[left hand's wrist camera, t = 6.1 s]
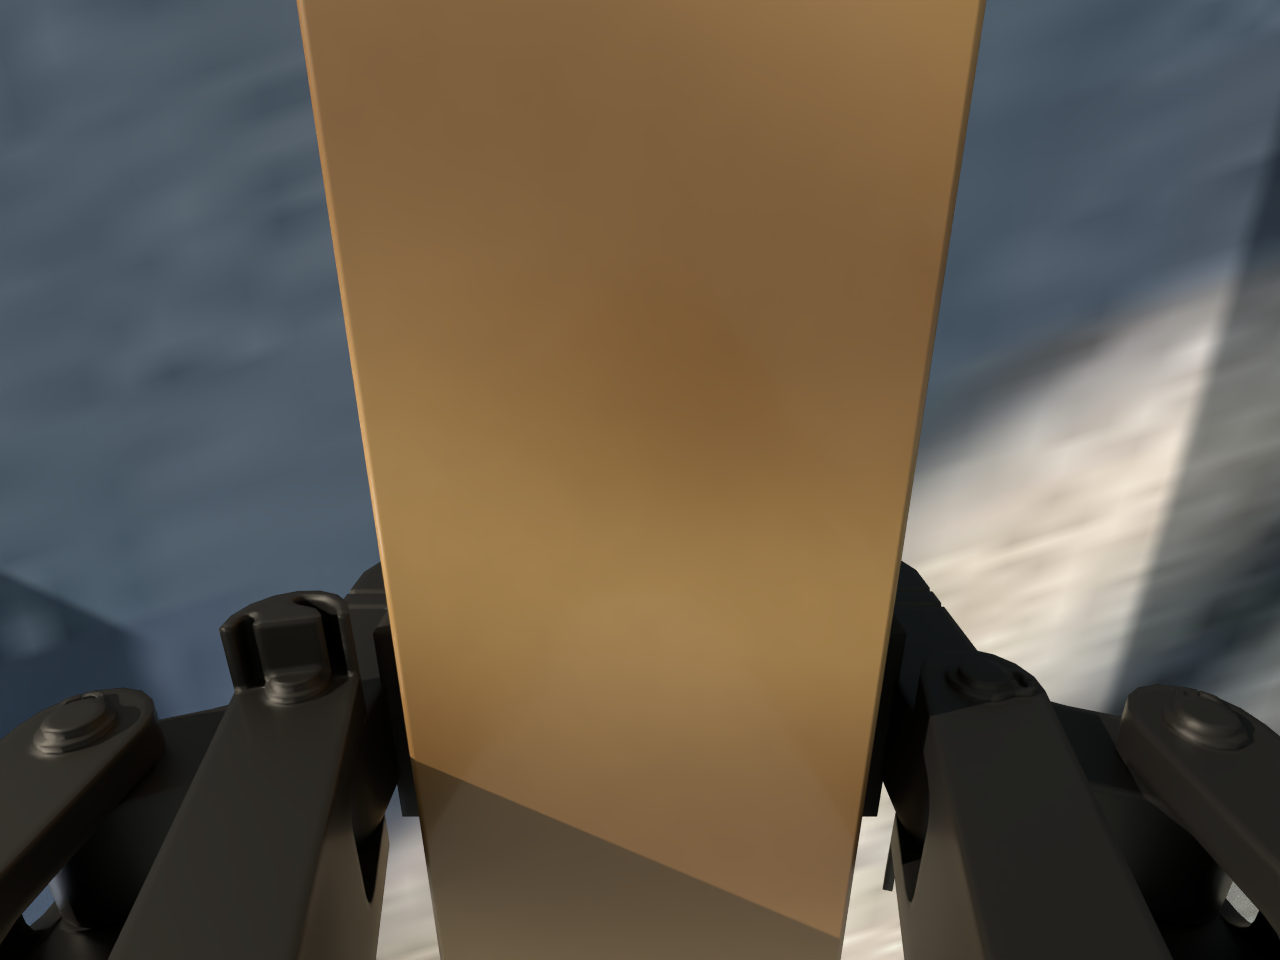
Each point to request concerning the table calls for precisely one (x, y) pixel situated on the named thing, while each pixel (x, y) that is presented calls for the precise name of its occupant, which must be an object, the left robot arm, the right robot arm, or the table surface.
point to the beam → (641, 437)
